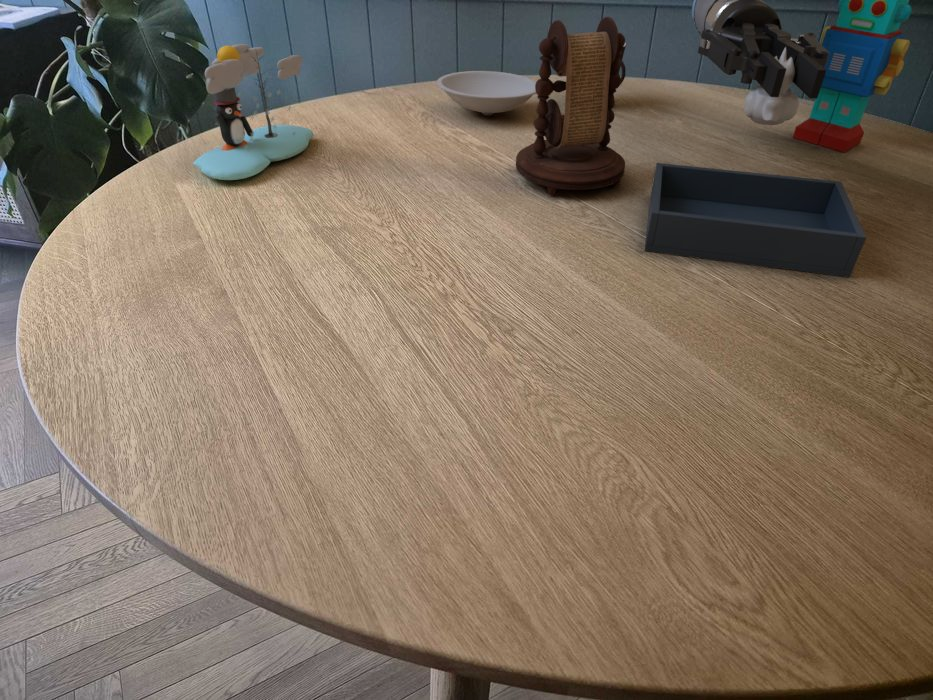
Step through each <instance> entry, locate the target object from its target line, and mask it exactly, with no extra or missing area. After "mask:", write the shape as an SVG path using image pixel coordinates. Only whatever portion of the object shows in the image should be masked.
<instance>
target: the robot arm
mask: <svg viewBox="0 0 933 700" xmlns="http://www.w3.org/2000/svg"><path fill="white" fill-rule="evenodd" d="M691 17H692V20H693V24H694V26H695V29H696V31H697V33H698V34H699V35H700V38H699V45H698V49H697V53H698V54H700V55H702V56H703V57H707V58H708V59H709V60H710V61H711V62H712V63H713V64H714V65H716V66H717V68H719V69H720V70H721V72H723V73H724V74H726V75H728V76H733V75H736V73H737V71H740V72H741V78H740V83H741V84H744V85H751V84H753V81H756V83H757V84H759V86H761V87H762V88H763V89H764V90H765V91H766V92H767V93H768V95H769V96H770V97H779V93H780V90H781V86H782V83H783V79H784V76H785V72H786V68H785V67H784V66H783V65H782V64H780V63H779V62H778V61H777V60H776V59H775V58H774V57H776V56H777V59H778V60H779V59H780V57H781V55H782V52H783V51H784V49H785V47H786V60H789V58H790V57H792V59H793V64H794V68H795V76H794V79H793V82H792V84H794V85H795V86H796V87H797V88H798V89H799V90H800V91H801V92H802V93H804V95H805V96H807V97H808V99H817V98H818V95H819V92H820V89H821V86H822V82H823V79H824V76H825V73H826V70H825V66H826V63H827V60H828V57H829V54H830V53H829V52H828V51H827V50H826V49H825V48H824V47H823V46H822V43H820V42H819V41H818V40H817V39H816V38H817V34H816V33H814V32H812V31H811V32H806V33H804V34H799V35H798V38H792V34H791V33H790V32H789V31H787V30H783V28H782V23H781V20H780V17H779V14H778V12H776V10H775V9H774V8H773V7H772V6H770V5H769V4H767V2H765V1H764V0H693V2H692V7H691Z"/></svg>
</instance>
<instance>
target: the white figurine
mask: <svg viewBox="0 0 933 700" xmlns="http://www.w3.org/2000/svg"><path fill="white" fill-rule="evenodd" d="M774 58H775V59H776V60H777V61H778V62H779V63H780V64H782V65H783V66H784V67H785V68H786V72H785V76H784V79H783V83H782V86H781V90H780V93H779V97H770V96H769V95H768V93H767V92H766V91H765V90H764V89H763V88H762V87H761V86H760V85H759V86H757V87H756V88H755V89H753V90H751V91H750V92H749V93H748V94H747V95H746V96H745V101H744V113H745V115H746V117H748V118H750V120H751V121H752V122H754V123H755V124H758V125H763V126H777V125H780V124H783V123H785V122H787V121H791V120H792V119H794V117H795V116H796V114H797V112H798V109H799V107H800V100H799V97H798V95H797V94H796V93H794V92H793V91H792V90H791V86H792V84H793V79H794V76H795V68H794V64H793V59H792V57H790V58H789V60H786V47H785V49H784V51H783V52H782V55H781V57H780V59H779V60H778V59H777V56H776V57H774Z"/></svg>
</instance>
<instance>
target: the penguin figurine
mask: <svg viewBox="0 0 933 700" xmlns="http://www.w3.org/2000/svg"><path fill="white" fill-rule="evenodd" d="M264 54H265V50H264V47H262V46H257V47H249V45H248V44H247V43H237V44H233V45H223V46H222V47H220V48H219V49H218V51H217V55H216V56H217V57H216V58H215V59H214V60H213V61H212V62H211V65H210V66H208V67H206V68H205V70H204V77H205V82H206V83H205V88H206V92H207V93H208V94H211V95H214V98H215V99H214V100H213V104H214V106H213V107H212V109H213V110H214V111H216V112H215V113H216V115H215V119H216V120H215V122H214V123H215V126H217V125H219V130H220V134H221V138H222V140H223V142H224V144H223V146H219V147H216V148H213V149H211V150H208V151H206V152H204V153H203V154H202V155H200V156H199V157H197V158H196V159H195V160H194V161H193V163H192V165H193V166H195V167H196V168H198V169H199V170H201V172H202V173H203V174H204V175H205V176H206V177H209V178H211V179H214V180H220V181H221V180H223V181H237V180H238V181H239V180H244V179H248V178H251V177H253V176H255V175H258V174H259V173H261V172H262V171H264V170H265V169H266V168H267V167H268V166H269V165H270V164H271V162H279V161H283V160H288V159H290V158H292V157H295V156H297V155H299V154H300V153H302V152H303V151H305V150H306V149H307V148H308V146H309V142H310V140H311V139H312V138H313V137H314V131H313V130H312V129H311V128H307V127H304V126H299V125H292V124H275V122H274V121H275V120H276V118H275V116H271V117H270V114H271V113H270V109H269V108H268V103H267V99H269V98H270V99H272V96H273V94H272V91H271V92H270V91H268V88H266V85H267V84H266V83H267V82H269V80H268V79H265V80H264V81H263V77H262V75H263V73H261V69H262V68H261V62H260V58H265V56H264ZM302 64H303V58H302V57H301V55H299V54H293V55H289V56H288V57H284V58H282V59H280V60H278V61H277V64H276V68H277V69H279V70H278V71H277V78H278V79H279V80H280V81H283V80H285V79H288V78H290V77H295V76H297V75H299V74H300V73H301V66H302ZM270 70H271V71H272V68H270V69H267V70H266V72H267V71H270ZM262 71H263V72H265V71H264V70H262ZM257 74H259V81H260V84H261V85H258V83H257V82H256V81H257V80H256V78H254V79H253V80H254V82H255V83H256V84H255V85H258V88H260V89H261V90H262V92H261V95H262V100H263V105H264V114H265V118H266V122H267V125H264V126H260V127H256V128H254V129H252V127H251V125H250V123H249V121H248V119H247V117H246V116H245V115H244V114H242V113H241V111H242V109H243V105H242V104H240V103H239V101H240V99H241V97H242V92H241V91H239V90H238V91H237V92H236V87H238V86H240V84H241V82H243V81H244V78H246V77H252V76H254V75H257ZM265 89H267V90H266V91H265ZM267 91H268V93H267ZM281 93H282V92H281V88H280V89H277V90H276V94H278V96H281ZM266 94H267V95H266ZM252 99H253V101H254V102H256V104H255V107H256V109H260V108H261V105H260V104H261V103H260V102H259V103H258V101H257V100H259V99H258V97H257V96H256V94H254V97H252ZM287 105H288V106H287V112H290V111H291V110H292V108H291V107H292V105H290V104H287ZM258 114H259V113H258V112H257V110H254V112H253V114H251V116H250V120H254V118H255V117H257V115H258ZM272 123H273V124H272Z"/></svg>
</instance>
